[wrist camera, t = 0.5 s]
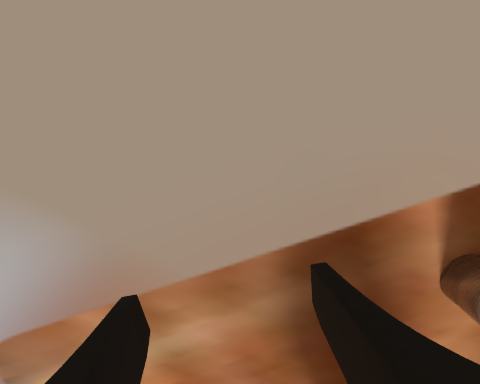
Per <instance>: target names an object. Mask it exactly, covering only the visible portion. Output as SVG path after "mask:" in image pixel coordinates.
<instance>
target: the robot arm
mask: <svg viewBox="0 0 480 384" xmlns="http://www.w3.org/2000/svg"><path fill="white" fill-rule="evenodd" d="M311 283H312V302H313V305H314V308H315V311H316V314H317V317H318V320H319V323H320V326H321V328H322V330H323V332H324V334H325V336H326V339H327V341H328V343H329V345H330V347H331V349H332V351H333V353H334V355H335V358H336V360H337V362H338V364H339V366H340V368H341V370H342V372H343V374H344V376H345V378H346V381H347V383H348V384H480V365H479V364H477V363H475V362H473V361H471V360H469V359H466V358H464V357H462V356H460V355H458V354H456V353H454V352H452V351H451V350H449V349H447V348H445V347H443V346H441V345H439V344H438V343H436V342H434V341H432V340H430V339H428V338H427V337H425V336H423V335H421V334H420V333H418V332H416V331H415V330H413V329H411V328H410V327H408V326H407V325H405V324H403V323H402V322H400V321H399V320H397V319H396V318H394V317H393V316H391V315H390V314H388V313H387V312H386V311H384V310H383V309H381V308H380V307H379V306H377V305H376V304H375V303H373V302H372V301H371V300H369V299H368V298H367V297H366V296H364V295H363V294H362V293H361V292H359V291H358V290H357V289H356V288H354V287H353V286H352V285H351V284H350V283H348V282H347V281H346V280H345V279H344V278H343V277H341V276H340V275H339V274H338V273H337V272H336V271H335V270H334V269H332V268H331V267H330V266H329V265H328V264H327V263H325V262H324V263H319V264H313V265H311ZM149 337H150V328H149V326H148V323H147V320H146V318H145V315H144V312H143V310H142V307H141V304H140V302H139V299H138V296H137V295H131V296H125V297H122V298H121V299H120V300H119V301H118V302H117V303H116V304H115V306H114V307H113V308H112V309H111V310H110V312H109V313H108V314H107V315H106V317H105V318H104V319H103V320H102V321H101V323H100V324H99V325H98V326H97V327H96V328H95V330H94V331H93V332H92V333H91V334H90V336H89V337H88V338H87V339H86V340H85V341H84V343H83V344H82V345H81V346H80V347H79V348H78V349H77V350H76V351H75V352H74V353H73V355H72V356H71V357H70V358H69V359H68V360H67V361H66V362H65V363H64V364H63V365H62V367H61V368H60V369H59V370H58V371H57V372H56V373H55V374H54V375H53V376H52V377H51V378H50V379H49V380H48V381H47V382H46V383H45V384H140V382H141V378H142V374H143V370H144V366H145V362H146V358H147V352H148V346H149Z"/></svg>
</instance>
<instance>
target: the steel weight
mask: <svg viewBox="0 0 480 384" xmlns="http://www.w3.org/2000/svg"><path fill="white" fill-rule="evenodd" d="M440 287H441V290H442V291H443V293H444V294H445V295H446V296H447V297H448V298H450V299H451V300H452V301H453V302H454V303H455V304H456V305H458V306H459V307H460V308H461V309H462V310H463V311H464V312H466V313H467V314H468V315H469V316H470V317H471V318H472V319H473V320H475V321H476V322H477V323H478V324H479V325H480V255H475V254H470V255H464V256H461V257H459V258H457V259H455V260H453V261H452V262H451V263H450V264H449V265H448V266H447V267H446V268H445V269H444V271H443V273H442V275H441V278H440Z"/></svg>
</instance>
